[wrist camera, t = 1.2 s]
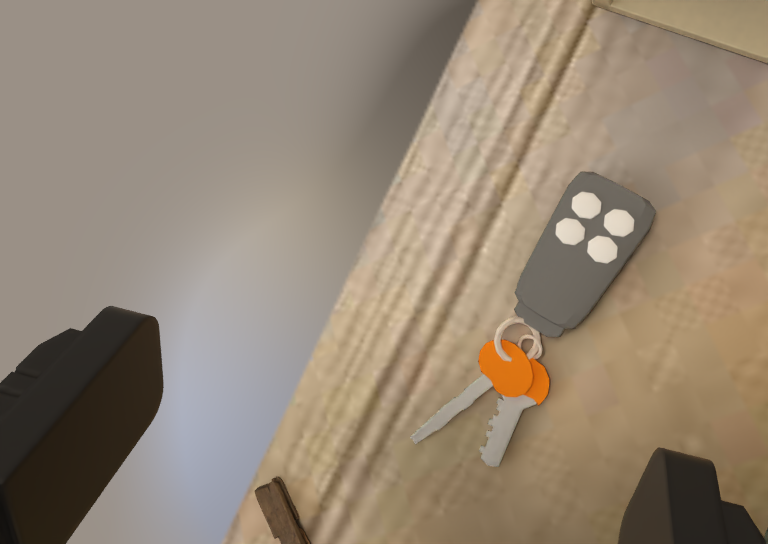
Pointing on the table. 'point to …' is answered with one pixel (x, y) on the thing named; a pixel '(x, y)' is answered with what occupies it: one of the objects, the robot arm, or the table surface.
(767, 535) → the tin
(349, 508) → the table surface
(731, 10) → the rack
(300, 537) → the wooden plank
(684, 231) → the table surface
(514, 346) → the key chain
